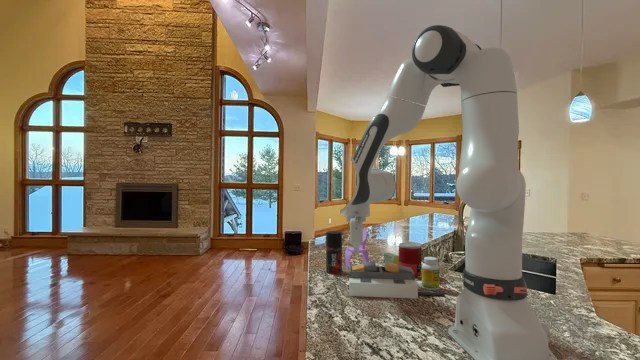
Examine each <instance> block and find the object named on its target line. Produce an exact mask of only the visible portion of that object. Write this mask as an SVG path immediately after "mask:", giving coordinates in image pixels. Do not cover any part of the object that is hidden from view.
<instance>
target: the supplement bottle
mask: <svg viewBox="0 0 640 360" xmlns="http://www.w3.org/2000/svg"><path fill="white" fill-rule="evenodd" d="M423 262H424V263H423V264H421V287H422V288H423V289H424V290H427V291H437V290H438V291H439V290H440V266H439V265H438V258H437V257H434V256H425V257H423Z"/></svg>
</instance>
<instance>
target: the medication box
mask: <svg viewBox="0 0 640 360" xmlns="http://www.w3.org/2000/svg"><path fill="white" fill-rule="evenodd" d="M383 257H384V258H383V259H384V260H383V262H384V263H385V262H386V261H387V262H391V263H394V264H398V265H399V255H397V254H394V253H391V252H384V253H383Z"/></svg>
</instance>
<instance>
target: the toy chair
mask: <svg viewBox="0 0 640 360" xmlns="http://www.w3.org/2000/svg"><path fill="white" fill-rule="evenodd" d="M367 239H368V232H367V230H366V229H365V228H363V243H362V245H360V247H359V253H361V255H362V259H363V263H367V262H370V260H369V252H368V249H366V241H367ZM345 248H346V250H345V252H344V257H345V258H344V259H345V261H344V262H345V267H347V268H348V267H349V268H350V266H352V264H351V260H352V256H353V254H354V248H353V246H352V247H351V246H350V247H349V246H347V247H345ZM354 255H355V254H354ZM349 268H348V269H349Z"/></svg>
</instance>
